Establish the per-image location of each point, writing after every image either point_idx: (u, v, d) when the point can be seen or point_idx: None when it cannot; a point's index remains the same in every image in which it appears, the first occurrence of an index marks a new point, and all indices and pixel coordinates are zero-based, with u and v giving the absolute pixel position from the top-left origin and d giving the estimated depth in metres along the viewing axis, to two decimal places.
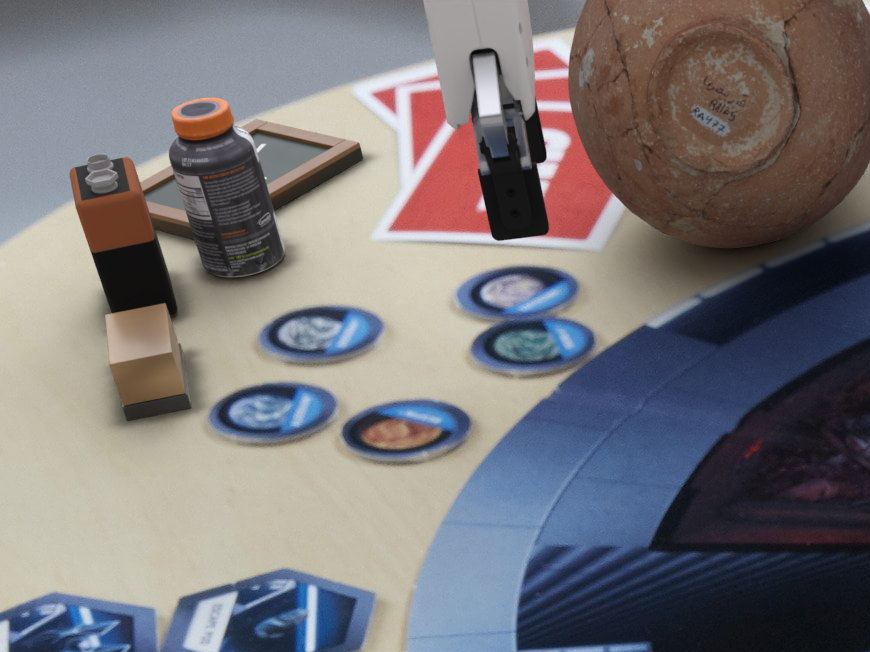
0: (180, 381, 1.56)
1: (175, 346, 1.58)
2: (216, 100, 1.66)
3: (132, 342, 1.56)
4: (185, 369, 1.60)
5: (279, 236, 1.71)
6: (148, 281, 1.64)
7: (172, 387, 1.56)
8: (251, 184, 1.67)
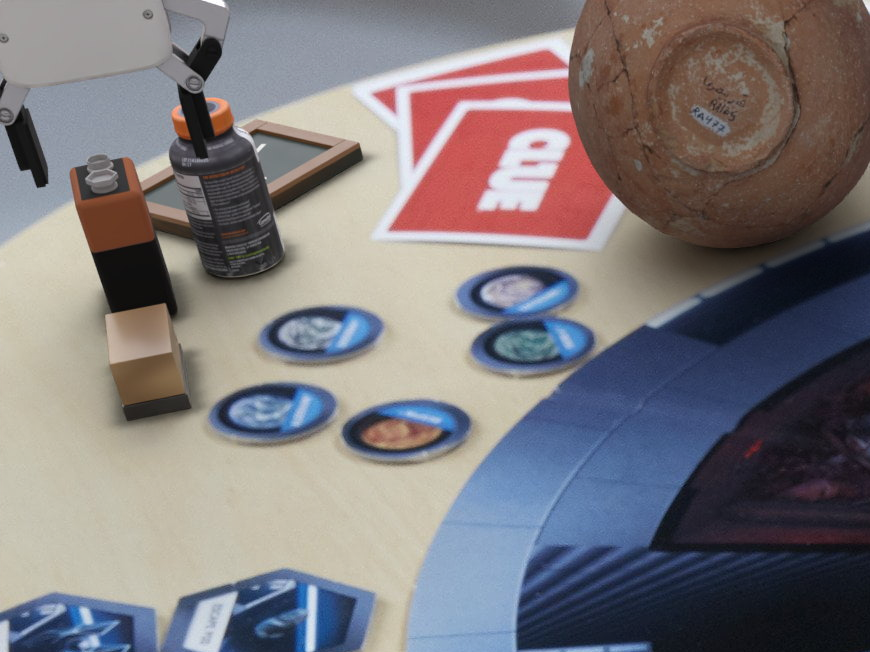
0: (180, 381, 1.56)
1: (175, 346, 1.58)
2: (216, 100, 1.66)
3: (132, 342, 1.56)
4: (185, 369, 1.60)
5: (279, 236, 1.71)
6: (148, 281, 1.64)
7: (172, 387, 1.56)
8: (251, 184, 1.67)
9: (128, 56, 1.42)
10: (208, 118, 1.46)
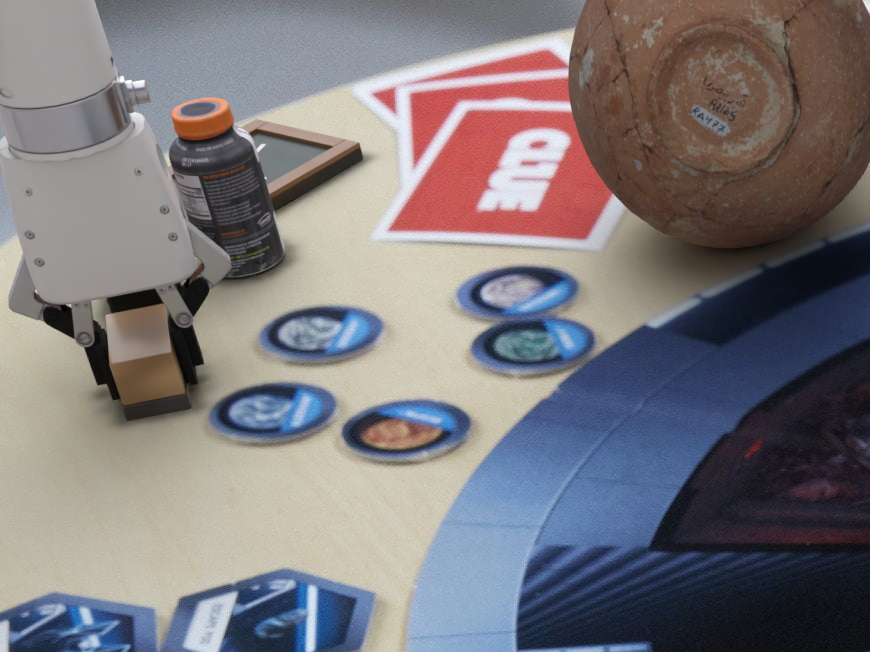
0: (180, 381, 1.56)
1: None
2: (216, 100, 1.66)
3: (132, 342, 1.56)
4: None
5: (279, 236, 1.71)
6: None
7: (172, 387, 1.56)
8: (251, 184, 1.67)
9: (154, 274, 1.52)
10: (197, 348, 1.58)
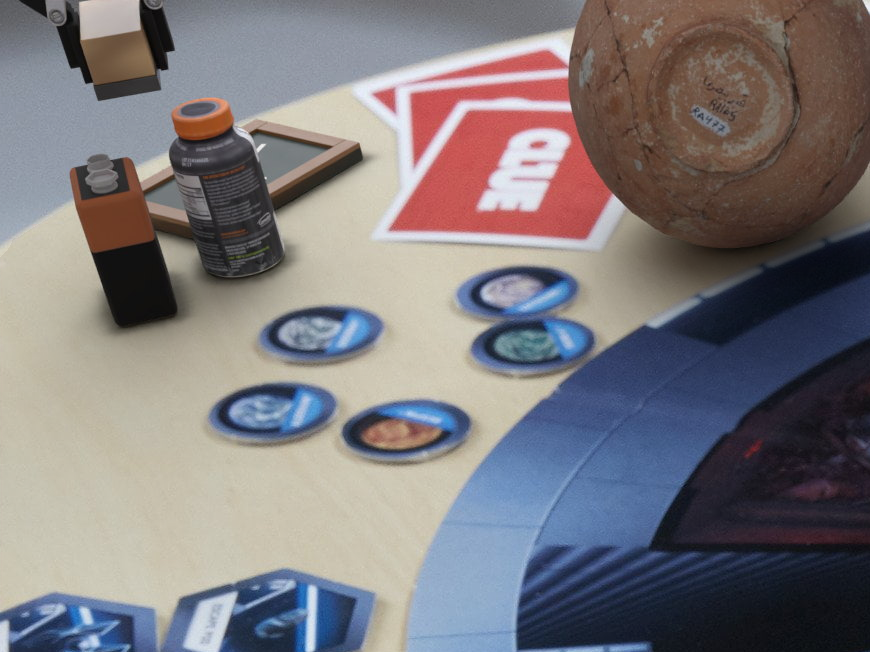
0: (150, 62, 1.59)
1: None
2: (216, 100, 1.66)
3: (104, 23, 1.59)
4: None
5: (279, 236, 1.71)
6: (148, 281, 1.64)
7: (142, 67, 1.59)
8: (251, 184, 1.67)
9: None
10: (167, 33, 1.61)
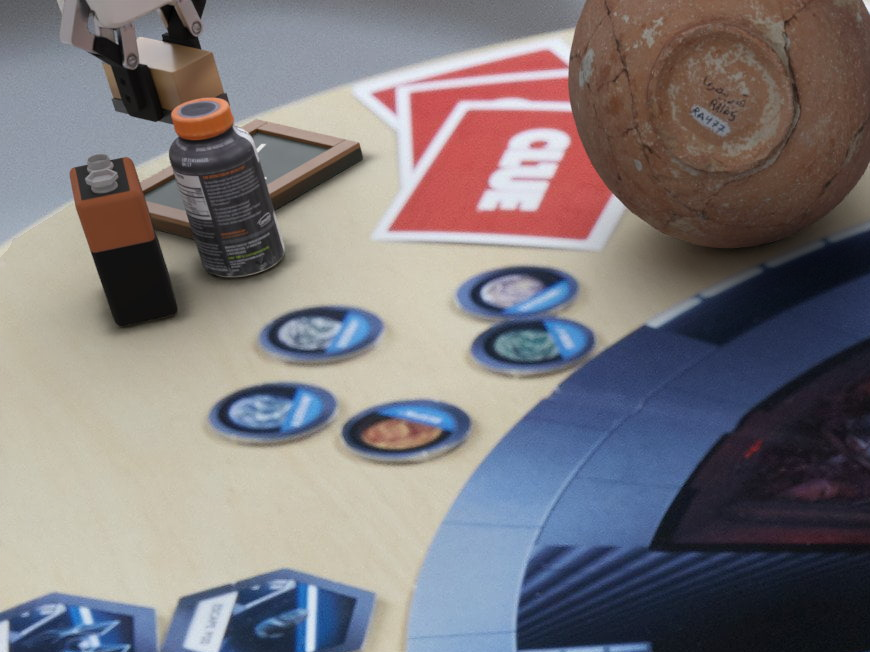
0: (220, 80, 1.73)
1: None
2: (216, 100, 1.66)
3: (164, 58, 1.71)
4: None
5: (279, 236, 1.71)
6: (148, 281, 1.64)
7: (215, 87, 1.73)
8: (251, 184, 1.67)
9: None
10: None
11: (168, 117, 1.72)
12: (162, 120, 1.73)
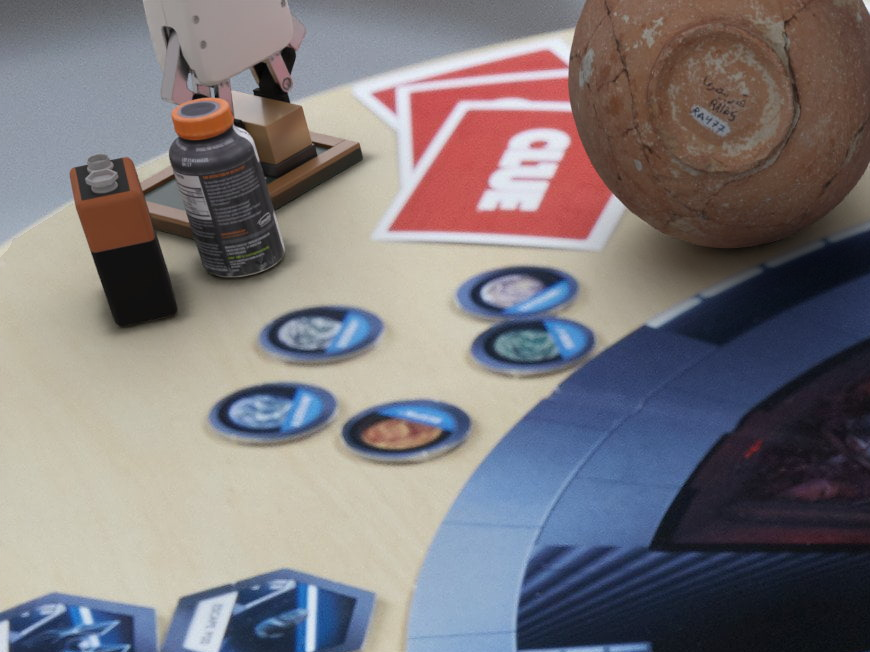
0: (308, 132, 1.81)
1: None
2: (216, 100, 1.66)
3: (257, 112, 1.80)
4: None
5: (279, 236, 1.71)
6: (148, 281, 1.64)
7: (304, 139, 1.81)
8: (251, 184, 1.67)
9: (273, 40, 1.78)
10: None
11: None
12: None
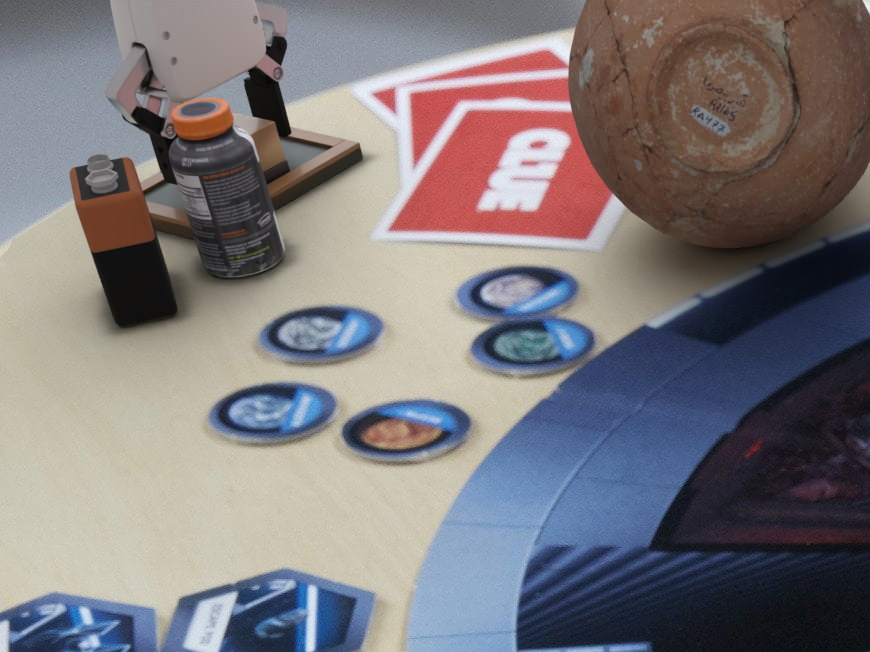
0: (281, 149, 1.80)
1: None
2: (216, 100, 1.66)
3: None
4: None
5: (279, 236, 1.71)
6: (148, 281, 1.64)
7: (277, 155, 1.79)
8: (251, 184, 1.67)
9: (246, 57, 1.76)
10: None
11: None
12: None
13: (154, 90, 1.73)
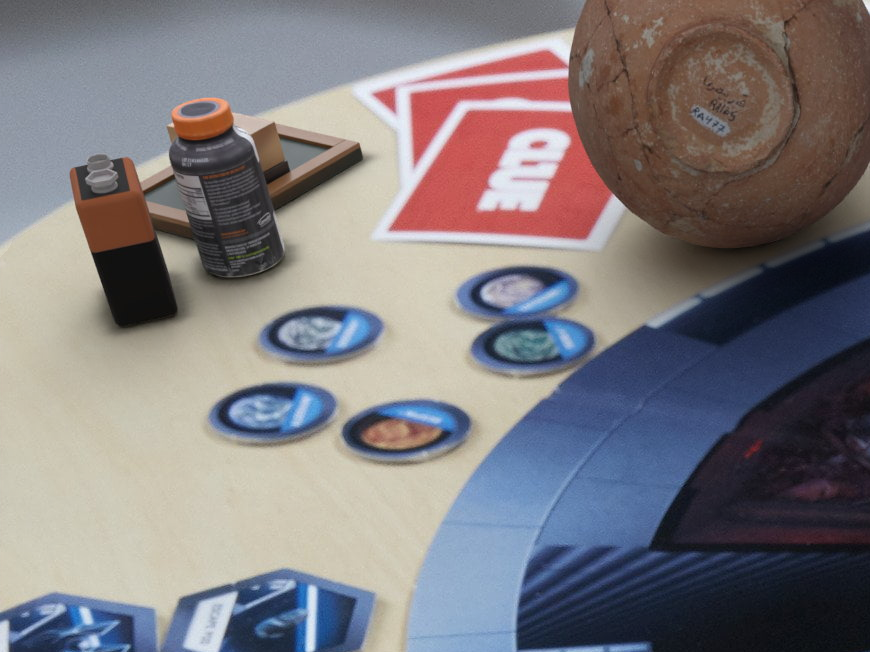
0: (281, 149, 1.80)
1: None
2: (216, 100, 1.66)
3: None
4: None
5: (279, 236, 1.71)
6: (148, 281, 1.64)
7: (277, 155, 1.79)
8: (251, 184, 1.67)
9: None
10: None
11: None
12: None
13: None
